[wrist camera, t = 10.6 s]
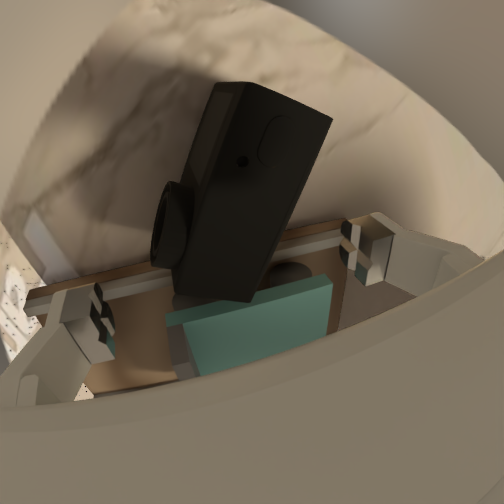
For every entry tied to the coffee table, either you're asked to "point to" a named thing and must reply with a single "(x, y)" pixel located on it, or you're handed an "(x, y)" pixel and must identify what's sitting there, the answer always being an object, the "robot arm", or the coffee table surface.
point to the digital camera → (236, 191)
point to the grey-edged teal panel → (248, 323)
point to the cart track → (160, 302)
